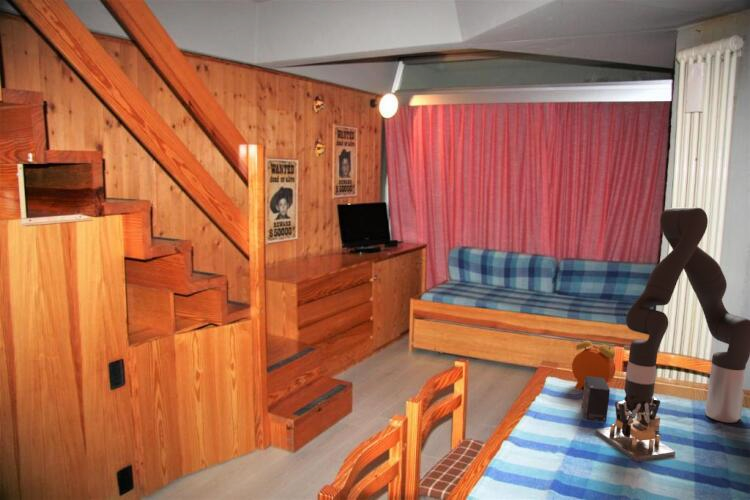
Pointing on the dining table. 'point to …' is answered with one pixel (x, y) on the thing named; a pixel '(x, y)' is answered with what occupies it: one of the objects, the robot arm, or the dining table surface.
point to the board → (638, 430)
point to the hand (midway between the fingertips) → (634, 434)
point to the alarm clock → (593, 362)
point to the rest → (651, 423)
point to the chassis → (635, 444)
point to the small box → (595, 398)
